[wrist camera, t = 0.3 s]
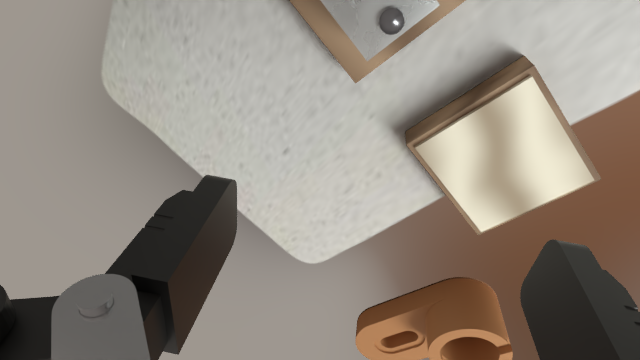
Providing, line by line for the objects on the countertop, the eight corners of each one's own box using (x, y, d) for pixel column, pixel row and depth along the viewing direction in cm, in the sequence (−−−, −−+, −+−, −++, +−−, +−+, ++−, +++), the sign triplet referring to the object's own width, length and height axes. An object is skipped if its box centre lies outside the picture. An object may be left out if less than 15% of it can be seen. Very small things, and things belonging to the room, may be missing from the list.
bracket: (476, 267, 43) (489, 319, 38) (509, 312, 46) (526, 366, 41) (344, 316, 51) (338, 365, 45) (379, 352, 54) (378, 402, 48)
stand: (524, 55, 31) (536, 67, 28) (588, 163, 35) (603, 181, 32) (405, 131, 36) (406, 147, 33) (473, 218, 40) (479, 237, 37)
